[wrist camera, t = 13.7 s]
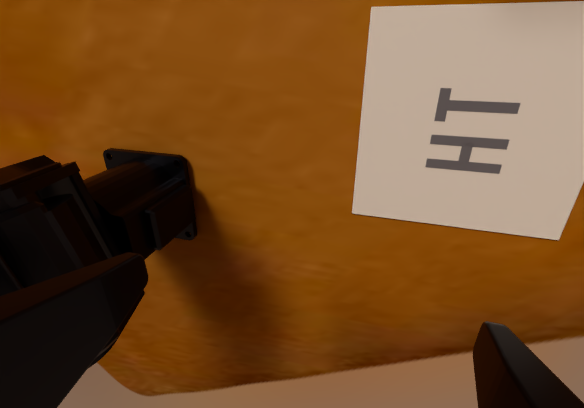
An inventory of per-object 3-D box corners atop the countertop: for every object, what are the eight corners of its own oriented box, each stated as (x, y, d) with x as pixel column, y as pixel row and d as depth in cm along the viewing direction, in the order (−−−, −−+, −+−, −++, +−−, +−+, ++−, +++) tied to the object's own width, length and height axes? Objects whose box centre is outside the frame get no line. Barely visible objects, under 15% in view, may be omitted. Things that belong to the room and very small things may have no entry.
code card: (352, 212, 20) (351, 213, 20) (371, 7, 15) (371, 6, 15) (557, 239, 17) (558, 240, 17) (660, -1, 13) (662, -1, 13)
